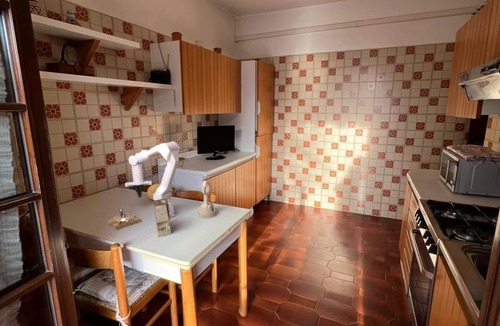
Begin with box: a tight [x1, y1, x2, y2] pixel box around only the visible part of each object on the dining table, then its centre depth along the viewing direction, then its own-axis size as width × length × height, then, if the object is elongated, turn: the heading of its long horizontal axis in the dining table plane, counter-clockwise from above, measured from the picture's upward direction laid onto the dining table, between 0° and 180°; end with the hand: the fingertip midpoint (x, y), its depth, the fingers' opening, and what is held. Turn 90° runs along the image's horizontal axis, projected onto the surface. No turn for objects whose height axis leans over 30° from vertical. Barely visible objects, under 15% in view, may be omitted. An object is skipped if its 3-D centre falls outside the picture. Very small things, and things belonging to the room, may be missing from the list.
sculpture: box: [146, 183, 161, 201], centre depth 182 cm, size 11×12×11 cm
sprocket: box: [112, 208, 135, 224], centre depth 145 cm, size 11×11×5 cm
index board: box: [106, 212, 142, 231], centre depth 146 cm, size 13×13×4 cm
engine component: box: [197, 180, 216, 220], centre depth 153 cm, size 11×20×10 cm
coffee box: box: [153, 199, 172, 237], centre depth 133 cm, size 9×6×16 cm
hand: (140, 196), depth 159 cm, fingers closed
